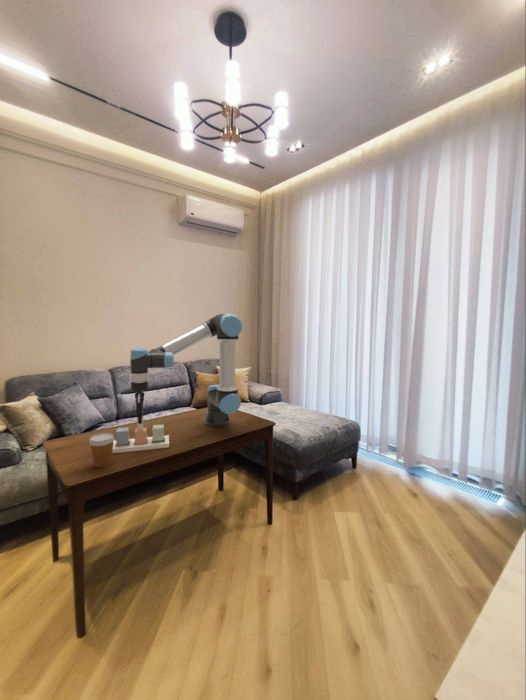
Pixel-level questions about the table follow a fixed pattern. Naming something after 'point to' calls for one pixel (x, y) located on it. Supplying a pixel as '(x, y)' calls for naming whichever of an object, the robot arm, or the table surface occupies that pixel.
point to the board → (140, 445)
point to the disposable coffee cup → (102, 449)
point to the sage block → (158, 432)
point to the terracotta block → (140, 436)
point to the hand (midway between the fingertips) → (140, 429)
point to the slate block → (122, 435)
